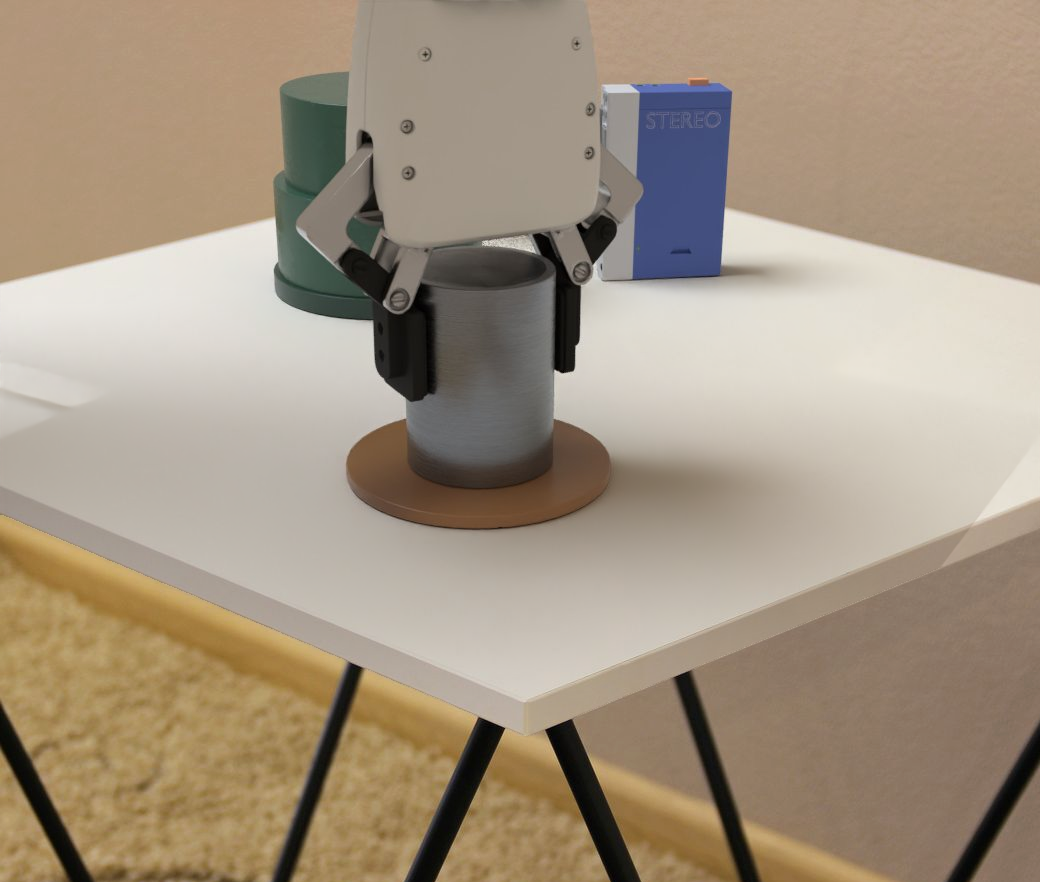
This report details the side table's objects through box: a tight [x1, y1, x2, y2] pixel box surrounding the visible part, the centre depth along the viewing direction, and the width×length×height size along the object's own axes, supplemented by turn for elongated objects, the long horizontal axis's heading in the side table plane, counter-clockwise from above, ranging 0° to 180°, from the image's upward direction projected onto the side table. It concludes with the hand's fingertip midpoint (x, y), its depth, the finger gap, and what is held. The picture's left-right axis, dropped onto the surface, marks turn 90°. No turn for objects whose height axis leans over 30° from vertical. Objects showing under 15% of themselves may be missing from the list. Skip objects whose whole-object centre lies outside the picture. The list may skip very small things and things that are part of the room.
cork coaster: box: [345, 418, 612, 529], centre depth 69 cm, size 12×12×1 cm
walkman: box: [596, 77, 733, 281], centre depth 95 cm, size 8×3×12 cm, turn 102°
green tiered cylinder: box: [272, 70, 483, 320], centre depth 91 cm, size 13×13×12 cm
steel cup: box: [405, 245, 556, 489], centre depth 67 cm, size 7×7×9 cm
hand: (479, 373), depth 68 cm, fingers closed on steel cup, 6 cm apart
